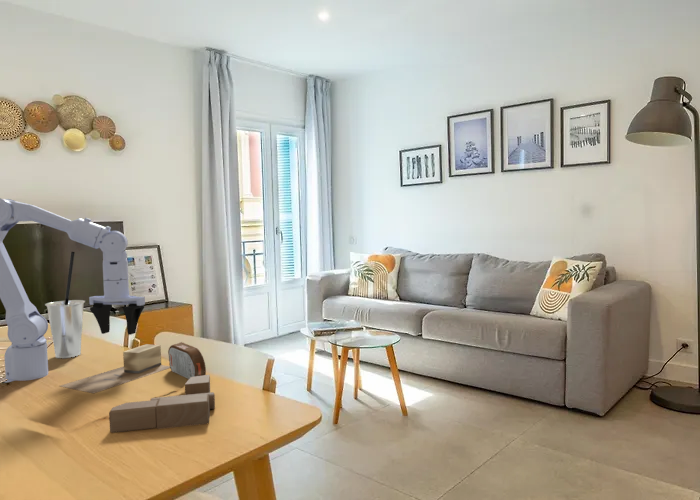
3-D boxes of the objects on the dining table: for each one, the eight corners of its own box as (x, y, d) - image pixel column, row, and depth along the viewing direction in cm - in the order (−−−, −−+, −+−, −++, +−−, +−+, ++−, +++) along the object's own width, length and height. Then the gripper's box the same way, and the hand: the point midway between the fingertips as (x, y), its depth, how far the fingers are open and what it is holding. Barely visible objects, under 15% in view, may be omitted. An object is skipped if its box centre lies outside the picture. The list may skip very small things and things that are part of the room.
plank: (59, 391, 118) (58, 385, 118) (140, 366, 137) (139, 361, 137) (93, 398, 112) (93, 393, 112) (173, 371, 131) (172, 366, 131)
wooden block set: (212, 395, 97) (107, 405, 93) (213, 425, 97) (109, 436, 93) (214, 369, 113) (125, 377, 109) (215, 395, 114) (127, 404, 110)
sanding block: (124, 372, 128) (123, 351, 127) (147, 363, 135) (146, 344, 135) (138, 373, 126) (138, 353, 126) (161, 364, 134) (160, 345, 133)
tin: (207, 385, 120) (206, 349, 119) (194, 389, 117) (193, 352, 117) (179, 372, 131) (177, 339, 130) (166, 375, 129) (165, 341, 128)
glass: (79, 360, 144) (73, 251, 142) (38, 361, 144) (32, 252, 143) (98, 350, 155) (93, 249, 153) (60, 351, 155) (55, 250, 153)
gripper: (79, 281, 128) (82, 335, 129) (131, 281, 125) (133, 337, 126) (99, 277, 135) (102, 329, 136) (149, 278, 132) (151, 331, 133)
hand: (118, 333), depth 131 cm, fingers open, 7 cm apart
